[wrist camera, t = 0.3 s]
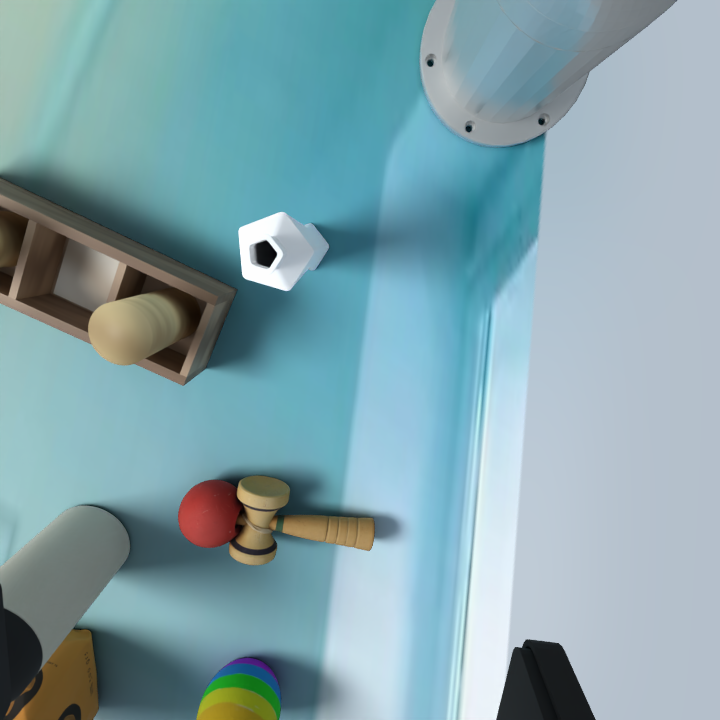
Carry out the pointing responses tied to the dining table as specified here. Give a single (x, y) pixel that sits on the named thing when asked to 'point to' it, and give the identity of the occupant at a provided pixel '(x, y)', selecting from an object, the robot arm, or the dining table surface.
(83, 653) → the coffee package
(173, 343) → the wooden condiment caddy
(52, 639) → the travel mug
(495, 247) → the dining table surface
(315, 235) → the white faceted vase
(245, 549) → the kendama
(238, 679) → the decorative egg
